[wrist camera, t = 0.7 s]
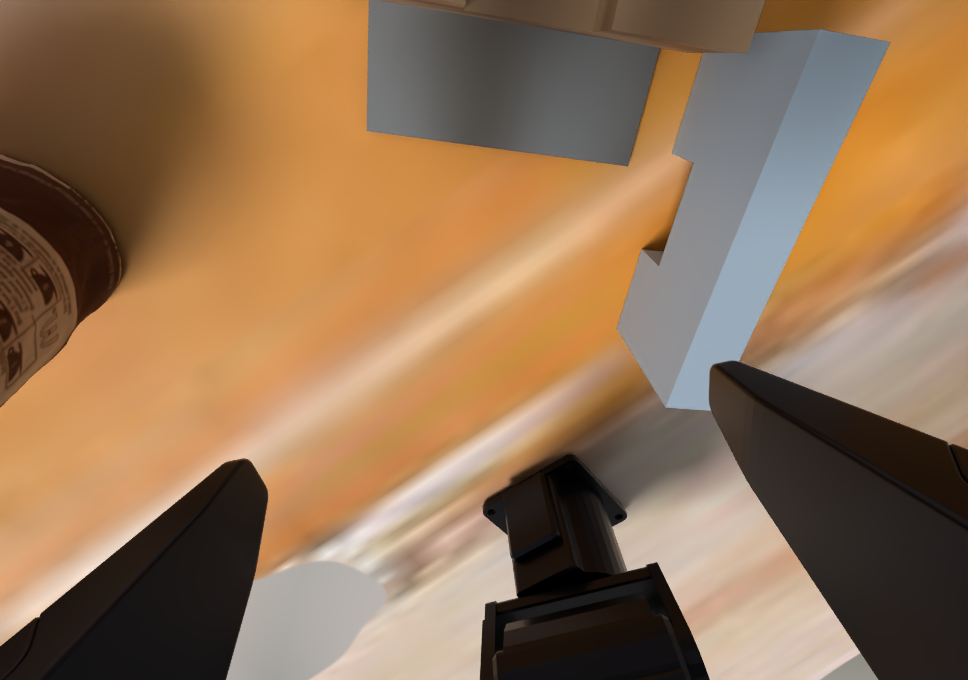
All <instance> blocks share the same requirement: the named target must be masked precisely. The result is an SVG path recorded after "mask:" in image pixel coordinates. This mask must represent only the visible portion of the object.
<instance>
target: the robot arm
mask: <svg viewBox="0 0 968 680" xmlns="http://www.w3.org/2000/svg"><path fill="white" fill-rule="evenodd" d="M709 405H710V409H711V411H712V414H713V416H714V417H715V419H716V421H717V423H718V425H719V427H720V429H721V431H722V433H723V435H724V437H725V439H726V441H727V443H728V445H729V447H730V449H731V451H732V453H733V455H734V457H735V459H736V461H737V463H738V465H739V467H740V469H741V471H742V472H743V474H744V476H745V478H746V480H747V481H748V483H749V485H750V486H751V488H752V489H753V491H754V493H755V494H756V496H757V497H758V499H759V500H760V502H761V503H762V505H763V506H764V508H765V509H766V511H767V512H768V514H769V515H770V517H771V518H772V520H773V521H774V523H775V524H776V526H777V527H778V529H779V530H780V532H781V533H782V535H783V536H784V538H785V539H786V541H787V542H788V544H789V545H790V547H791V548H792V550H793V551H794V553H795V554H796V556H797V557H798V559H799V560H800V562H801V563H802V565H803V566H804V568H805V570H806V571H807V573H808V574H809V576H810V577H811V579H812V580H813V582H814V583H815V585H816V586H817V588H818V589H819V591H820V592H821V594H822V595H823V597H824V598H825V600H826V601H827V603H828V604H829V606H830V607H831V609H832V610H833V612H834V613H835V615H836V616H837V618H838V619H839V621H840V622H841V624H842V625H843V627H844V628H845V630H846V631H847V633H848V634H849V636H850V637H851V639H852V640H853V642H854V643H855V645H856V647H857V648H858V650H859V651H860V653H861V654H862V656H863V657H864V658H865V660H866V662H867V663H868V665H869V666H870V668H871V669H872V671H873V672H874V674H875V675H876V677H877V678H878V680H968V449H965V448H963V447H960V446H957V445H955V444H951V445H949V444H948V442H946V441H944V440H941V439H939V438H936V437H934V436H931V435H928V434H926V433H923V432H921V431H918V430H915V429H913V428H910V427H908V426H905V425H902V424H900V423H897V422H895V421H892V420H889V419H887V418H884V417H882V416H879V415H876V414H874V413H871V412H868V411H866V410H863V409H861V408H858V407H855V406H853V405H850V404H848V403H845V402H842V401H840V400H837V399H835V398H832V397H829V396H827V395H824V394H822V393H819V392H816V391H814V390H811V389H809V388H806V387H803V386H801V385H798V384H796V383H793V382H790V381H788V380H785V379H782V378H780V377H777V376H775V375H772V374H769V373H767V372H764V371H762V370H759V369H756V368H754V367H751V366H749V365H746V364H743V363H741V362H738V361H735V360H731V361H726V362H721V363H716V364H713V365H712V366H711V368H710V372H709ZM571 463H572V464H571ZM568 464H571V465H568ZM267 503H268V491H267V488H266V486H265V484H264V482H263V481H262V479H261V477H260V475H259V474H258V472H257V470H256V469H255V467H254V465H253V464H252V462H251V461H250V460H248V459H238V460H233V461H229V462H226V463H224V464H222V465H221V466H220V467H219V468H217V469H216V470H215V471H214V472H213V473H211V474H210V475H209V476H208V477H207V478H205V479H204V480H203V481H202V482H200V483H199V484H198V485H197V486H196V487H194V488H193V489H192V490H191V491H189V492H188V493H187V494H186V495H185V496H183V497H182V498H181V499H180V500H178V501H177V502H176V503H175V504H174V505H172V506H171V507H170V508H169V509H168V510H166V511H165V512H164V513H163V514H161V515H160V516H159V517H158V518H157V519H155V520H154V521H153V522H152V523H150V524H149V525H148V526H147V527H146V528H144V529H143V530H142V531H141V532H139V533H138V534H137V535H136V536H135V537H133V538H132V539H131V540H130V541H129V542H127V543H126V544H125V545H124V546H122V547H121V548H120V549H119V550H118V551H116V552H115V553H114V554H113V555H111V556H110V557H109V558H108V559H107V560H105V561H104V562H103V563H102V564H100V565H99V566H98V567H97V568H96V569H94V570H93V571H92V572H91V573H90V574H88V575H87V576H86V577H85V578H83V579H82V580H81V581H80V582H79V583H77V584H76V585H75V586H74V587H72V588H71V589H70V590H69V591H68V592H66V593H65V594H64V595H63V596H62V597H60V598H59V599H58V600H57V601H55V602H54V603H53V604H52V605H51V606H49V607H48V608H47V609H46V610H44V611H43V612H42V613H41V614H40V617H37V618H35V619H33V620H32V621H31V622H30V623H28V624H27V625H26V626H25V627H24V628H22V629H21V630H20V631H19V632H17V633H16V634H15V635H14V636H13V637H11V638H10V639H9V640H8V641H6V642H5V643H4V644H3V645H1V646H0V680H226V678H227V674H228V670H229V667H230V663H231V660H232V656H233V652H234V649H235V645H236V642H237V638H238V634H239V631H240V627H241V624H242V620H243V616H244V612H245V609H246V606H247V602H248V598H249V595H250V591H251V588H252V584H253V580H254V576H255V572H256V567H257V562H258V556H259V550H260V544H261V538H262V532H263V526H264V521H265V515H266V509H267ZM483 514H484V516H485V517H487V518H488V519H489V520H490V521H491V522H493V523H494V524H495V525H496V526H497V527H499V528H500V529H501V530H502V531H503V532H505V533H506V534H507V535H508V541H509V548H510V556H511V558H512V562H513V570H514V578H515V585H516V593H517V596H518V598H515V599H511V600H507V601H503V602H499V603H497V602H496V601H494V602H490V603H486V604H485V620H483V625H482V646H481V668H480V680H710V679H709V676H708V673H707V671H706V668H705V665H704V662H703V660H702V657H701V655H700V652H699V650H698V647H697V645H696V642H695V640H694V638H693V635H692V633H691V631H690V629H689V627H688V625H687V623H686V621H685V619H684V616H683V614H682V612H681V610H680V608H679V606H678V604H677V602H676V600H675V598H674V596H673V594H672V592H671V590H670V588H669V586H668V584H667V582H666V579H665V577H664V575H663V573H662V571H661V569H660V567H659V565H658V563H657V562H656V563H652V564H648V565H646V567H644V568H640V569H636V570H631V571H627V568H626V566H625V563H624V560H623V557H622V554H621V551H620V548H619V546H618V543H617V540H616V537H615V534H614V531H613V528H612V526H614V525H616V524H618V523H620V522H622V521H624V520H625V519H626V518H627V513H626V511H625V509H624V507H623V506H622V505H621V504H620V503H619V502H618V501H617V500H616V499H615V497H614V496H613V495H612V494H611V493H610V492H609V491H608V490H607V489H606V488H605V487H604V486H603V485H602V483H601V482H600V481H599V480H598V479H597V478H596V477H595V476H594V475H593V474H592V473H591V472H590V471H589V469H588V468H587V467H586V466H585V465H584V464H583V463H582V462H581V461H580V460H579V459H578V458H577V457H576V456H574V455H568V456H565V457H563V458H562V459H560V460H558V461H556V462H555V463H553V464H551V465H549V466H548V467H546V468H544V469H543V470H541V471H539V472H537V473H536V474H534V475H532V476H530V477H529V478H527V479H525V480H523V481H522V482H520V483H518V484H517V485H515V486H513V487H511V488H510V489H508V490H506V491H504V492H503V493H501V494H499V495H497V496H496V497H494V498H492V499H491V500H489V501H487V502H486V503H484V505H483Z"/></svg>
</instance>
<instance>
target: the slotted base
mask: <svg viewBox="0 0 968 680" xmlns="http://www.w3.org/2000/svg"><path fill="white" fill-rule="evenodd" d="M765 1H766V0H369V24H368V88H367V131H370V132H378V133H385V134H393V135H400V136H407V137H415V138H422V139H430V140H437V141H445V142H452V143H459V144H467V145H474V146H482V147H489V148H496V149H504V150H511V151H519V152H526V153H533V154H541V155H548V156H556V157H563V158H570V159H578V160H585V161H593V162H600V163H607V164H615V165H622V166H628V164H629V160H630V156H631V153H632V149H633V145H634V142H635V138H636V134H637V131H638V127H639V123H640V120H641V116H642V112H643V109H644V105H645V102H646V98H647V94H648V91H649V87H650V83H651V80H652V76H653V72H654V69H655V65H656V61H657V58H658V54H659V50H660V48H663V49H669V50H675V51H681V52H687V53H747V52H748V49H749V47H750V44H751V41H752V38H753V35H754V32H755V30H756V27H757V24H758V21H759V18H760V15H761V12H762V10H763V7H764V4H765Z"/></svg>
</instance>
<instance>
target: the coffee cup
mask: <svg viewBox="0 0 968 680" xmlns="http://www.w3.org/2000/svg"><path fill="white" fill-rule="evenodd" d="M120 277H121V258H120V255H119V251H118V248H117V245H116V242H115V240H114V237H113V234H112V232H111V230H110V228H109V226H108V225H107V224H106V222H105V221H104V220H103V218H102V217H101V216H100V215H99V214H98V213H97V211H96V210H95V209H94V208H93V207H92V206H91V205H90V204H89V203H88V202H87V201H86V200H85V199H84V198H83V197H82V196H80V195H79V194H78V193H77V192H76V191H75V190H74V189H72V188H71V187H70V186H68V185H66V184H65V183H63V182H62V181H60V180H58V179H57V178H55V177H53V176H52V175H50V174H49V173H48V172H46V171H44V170H43V169H41V168H39V167H38V166H35V165H33V164H27V163H23V162H20V161H17V160H14V159H12V158H9V157H6V156H4V155H2V154H0V407H1V406H2V405H4V403H5V402H6V401H7V400H8V399H9V398H10V397H11V396H12V395H14V394H15V393H16V392H17V391H18V390H19V389H20V388H21V387H22V386H23V385H24V384H25V383H26V382H27V381H28V379H29V378H31V377H32V376H33V375H34V374H35V373H36V372H38V371H39V370H40V369H41V368H42V367H43V366H45V365H46V364H47V363H48V362H49V361H50V360H52V359H53V358H54V357H55V356H56V355H57V354H58V353H59V352H60V351H61V350H62V348H63V347H64V346H65V345H66V344H67V342H68V340H69V338H70V336H71V334H72V333H73V331H74V330H75V328H76V327H77V326H78V325H79V323H80V322H82V321H83V320H84V319H85V318H86V317H87V316H88V315H90V314H91V313H93V312H95V311H96V310H97V309H98V308H100V307H101V306H102V305H103V304H104V303H105V302H106V301H107V300H108V298H109V297H110V296H111V294H112V292H113V291H114V289H115V288H116V286H117V285H118V283H119V281H120Z"/></svg>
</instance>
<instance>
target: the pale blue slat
mask: <svg viewBox="0 0 968 680" xmlns="http://www.w3.org/2000/svg"><path fill="white" fill-rule="evenodd" d="M889 44H890V42H887V41H882V40H877V39H871V38H866V37H860V36H855V35H849V34H844V33H838V32H833V31H827V30H822V29H814V30H796V31H778V32H760V33H754V35H753V38H752V41H751V44H750V47H749V49H748V52H747V53H703V55H702V58H701V61H700V64H699V68H698V71H697V74H696V77H695V80H694V84H693V87H692V90H691V93H690V96H689V100H688V103H687V106H686V109H685V112H684V115H683V119H682V122H681V125H680V128H679V131H678V135H677V138H676V141H675V144H674V147H673V151H672V154H674V155H677V156H679V157H681V158H683V159H685V160H688V161H690V162H692V163H694V164H693V167H692V170H691V173H690V176H689V179H688V182H687V185H686V188H685V191H684V194H683V197H682V200H681V203H680V205H679V208H678V211H677V214H676V217H675V220H674V223H673V226H672V229H671V232H670V235H669V238H668V241H667V244H666V247H665V250H664V252H663V251H654V250H645V249H642V250H641V253H640V256H639V259H638V262H637V266H636V269H635V272H634V275H633V278H632V282H631V285H630V288H629V291H628V294H627V297H626V301H625V304H624V307H623V310H622V313H621V317H620V320H619V323H618V326H617V330H618V331H619V333H620V335H621V336H622V338H623V340H624V341H625V343H626V344H627V346H628V348H629V349H630V351H631V353H632V354H633V356H634V357H635V359H636V361H637V362H638V364H639V366H640V367H641V369H642V370H643V372H644V374H645V375H646V377H647V379H648V380H649V382H650V383H651V385H652V387H653V388H654V390H655V392H656V393H657V395H658V396H659V398H660V400H661V401H662V403H663V405H664V406H665V408H679V409H693V410H708V411H711V409H710V405H709V372H710V368H711V366H712V365H713V364H716V363H721V362H726V361H731V360H735V361H738V362H739V360H740V358H741V356H742V354H743V352H744V349H745V347H746V345H747V343H748V341H749V339H750V337H751V335H752V333H753V331H754V328H755V326H756V324H757V322H758V320H759V318H760V316H761V314H762V312H763V309H764V307H765V305H766V303H767V301H768V299H769V297H770V295H771V293H772V291H773V288H774V286H775V284H776V282H777V280H778V278H779V276H780V274H781V272H782V269H783V267H784V265H785V263H786V261H787V259H788V257H789V255H790V253H791V251H792V248H793V246H794V244H795V242H796V240H797V238H798V236H799V234H800V232H801V230H802V227H803V225H804V223H805V221H806V219H807V217H808V215H809V213H810V211H811V208H812V206H813V204H814V202H815V200H816V198H817V196H818V194H819V192H820V190H821V187H822V185H823V183H824V181H825V179H826V177H827V175H828V173H829V171H830V168H831V166H832V164H833V162H834V160H835V158H836V156H837V154H838V152H839V150H840V147H841V145H842V143H843V141H844V139H845V137H846V135H847V133H848V131H849V129H850V126H851V124H852V122H853V120H854V118H855V116H856V114H857V112H858V110H859V107H860V105H861V103H862V101H863V99H864V97H865V95H866V93H867V91H868V89H869V86H870V84H871V82H872V80H873V78H874V76H875V74H876V72H877V70H878V67H879V65H880V63H881V61H882V59H883V57H884V55H885V53H886V51H887V49H888V46H889Z"/></svg>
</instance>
